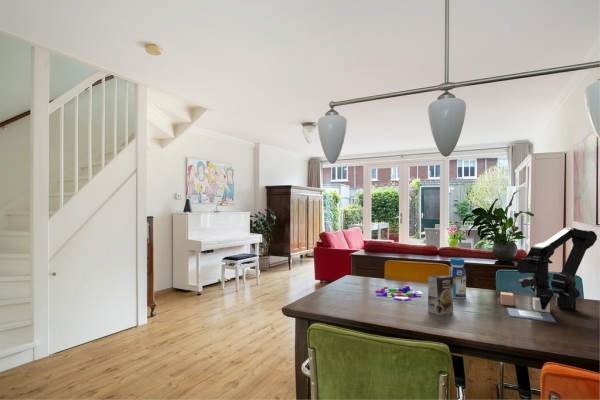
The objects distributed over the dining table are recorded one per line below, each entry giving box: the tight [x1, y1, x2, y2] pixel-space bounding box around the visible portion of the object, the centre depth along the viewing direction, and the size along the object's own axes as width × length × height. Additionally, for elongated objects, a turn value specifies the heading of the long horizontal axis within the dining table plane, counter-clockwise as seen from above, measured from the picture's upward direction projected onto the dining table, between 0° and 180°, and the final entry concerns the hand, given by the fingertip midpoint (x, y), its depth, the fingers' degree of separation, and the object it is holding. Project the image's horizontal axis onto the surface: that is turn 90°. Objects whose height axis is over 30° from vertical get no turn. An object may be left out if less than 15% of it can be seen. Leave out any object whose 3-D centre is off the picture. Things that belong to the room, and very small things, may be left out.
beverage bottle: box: [448, 257, 467, 300], centre depth 172 cm, size 8×8×20 cm
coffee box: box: [427, 274, 454, 316], centre depth 146 cm, size 9×6×16 cm
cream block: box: [532, 296, 551, 313], centre depth 150 cm, size 6×6×5 cm
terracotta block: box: [500, 291, 515, 307], centre depth 160 cm, size 5×5×5 cm
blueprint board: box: [506, 307, 557, 323], centre depth 142 cm, size 16×12×1 cm
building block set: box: [375, 284, 424, 302], centre depth 174 cm, size 25×20×4 cm
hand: (541, 306), depth 150 cm, fingers open, 9 cm apart
